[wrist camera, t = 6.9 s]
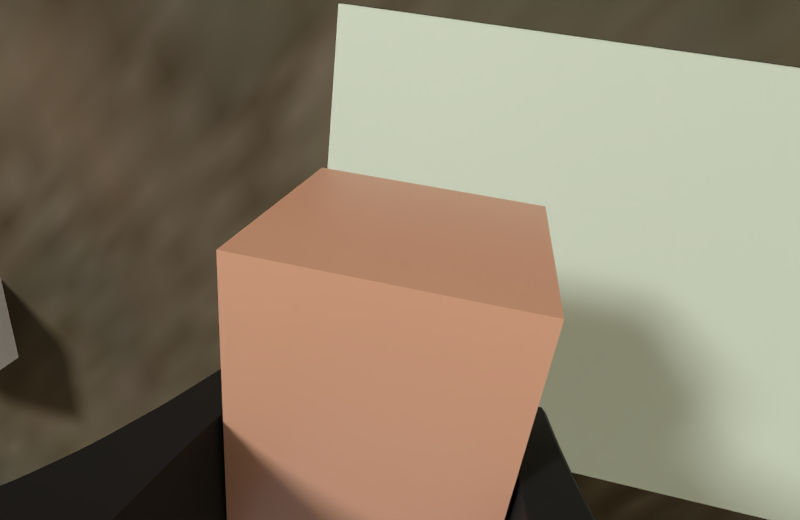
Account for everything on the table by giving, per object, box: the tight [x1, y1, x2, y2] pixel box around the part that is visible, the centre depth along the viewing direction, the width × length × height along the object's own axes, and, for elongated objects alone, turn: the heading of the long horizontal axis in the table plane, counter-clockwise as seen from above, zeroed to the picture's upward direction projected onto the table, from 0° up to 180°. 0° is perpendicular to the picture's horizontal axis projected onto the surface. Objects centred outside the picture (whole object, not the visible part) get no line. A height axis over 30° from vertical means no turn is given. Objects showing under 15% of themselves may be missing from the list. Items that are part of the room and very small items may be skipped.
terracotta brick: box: [216, 168, 564, 520], centre depth 9 cm, size 8×4×4 cm, turn 173°
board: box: [328, 4, 800, 520], centre depth 16 cm, size 14×18×1 cm
